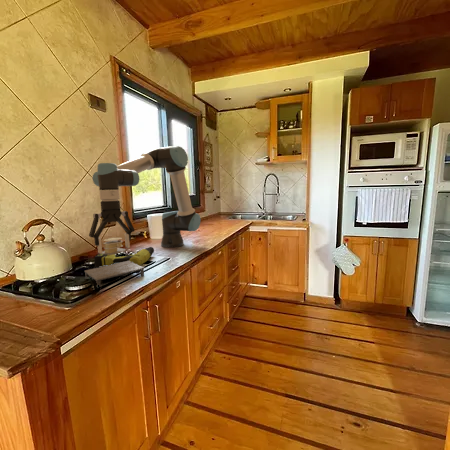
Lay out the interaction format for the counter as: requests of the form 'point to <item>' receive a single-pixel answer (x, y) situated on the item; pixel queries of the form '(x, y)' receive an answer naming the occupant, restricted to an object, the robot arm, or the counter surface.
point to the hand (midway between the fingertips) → (114, 250)
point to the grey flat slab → (113, 271)
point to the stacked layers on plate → (113, 246)
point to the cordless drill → (124, 258)
